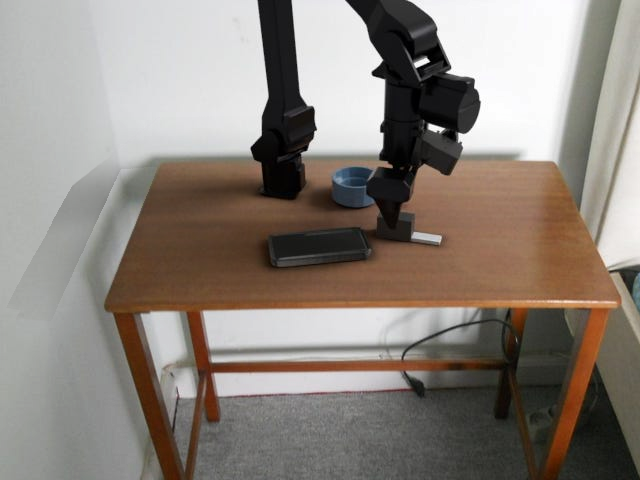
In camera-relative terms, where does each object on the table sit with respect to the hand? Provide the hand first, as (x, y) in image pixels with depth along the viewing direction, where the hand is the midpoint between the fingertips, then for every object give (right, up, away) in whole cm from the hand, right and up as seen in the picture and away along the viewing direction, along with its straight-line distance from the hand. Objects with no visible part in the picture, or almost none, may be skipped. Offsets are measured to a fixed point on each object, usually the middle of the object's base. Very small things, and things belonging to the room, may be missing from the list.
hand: (399, 214), depth 104 cm
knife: (+2, -3, +2) cm, 4 cm away
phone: (-12, -6, -1) cm, 14 cm away
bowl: (-7, +5, +12) cm, 15 cm away
